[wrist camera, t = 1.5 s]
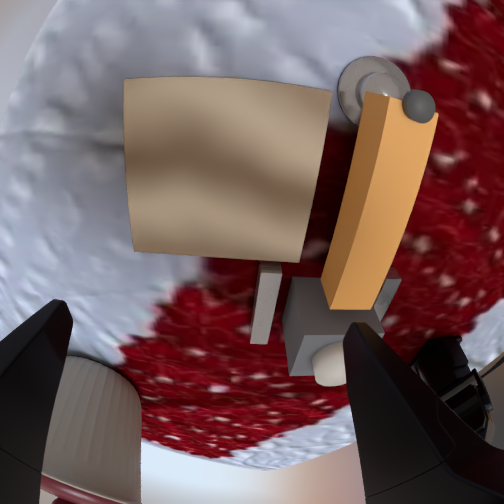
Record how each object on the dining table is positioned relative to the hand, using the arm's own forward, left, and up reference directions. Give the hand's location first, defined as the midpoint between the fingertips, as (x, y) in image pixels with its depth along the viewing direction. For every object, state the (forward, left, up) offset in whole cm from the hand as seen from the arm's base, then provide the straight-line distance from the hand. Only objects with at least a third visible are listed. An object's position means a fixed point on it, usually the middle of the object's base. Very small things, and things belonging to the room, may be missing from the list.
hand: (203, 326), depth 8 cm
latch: (+1, -9, -10) cm, 13 cm away
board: (0, 0, -12) cm, 12 cm away
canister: (-28, +16, -13) cm, 35 cm away
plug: (-10, -9, -12) cm, 18 cm away
